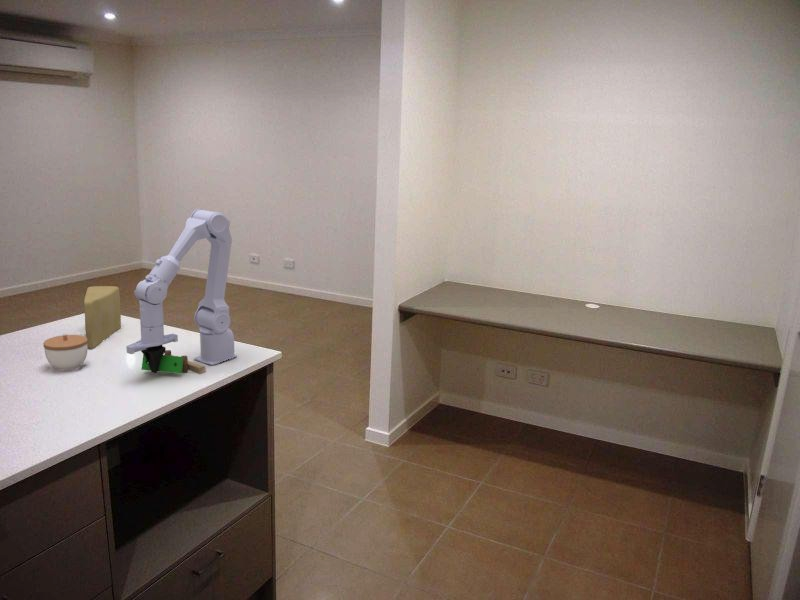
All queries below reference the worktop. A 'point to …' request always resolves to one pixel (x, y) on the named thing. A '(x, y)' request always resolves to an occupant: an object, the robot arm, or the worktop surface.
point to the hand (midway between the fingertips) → (154, 372)
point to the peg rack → (189, 364)
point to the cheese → (101, 313)
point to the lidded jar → (66, 351)
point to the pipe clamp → (166, 364)
